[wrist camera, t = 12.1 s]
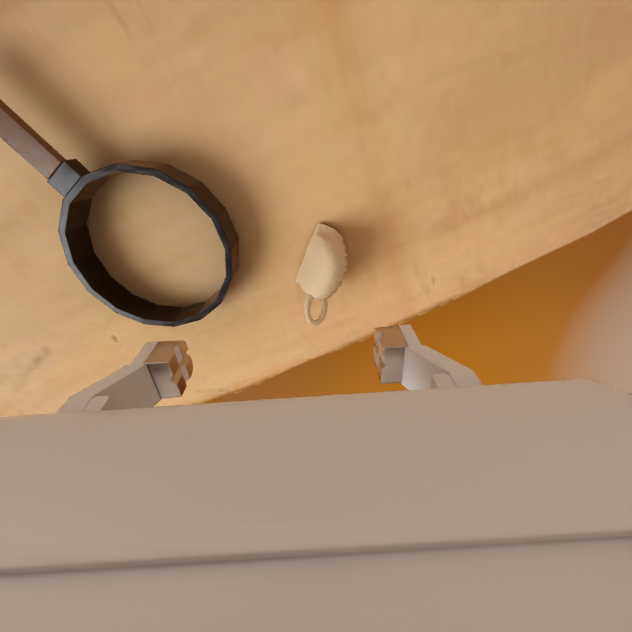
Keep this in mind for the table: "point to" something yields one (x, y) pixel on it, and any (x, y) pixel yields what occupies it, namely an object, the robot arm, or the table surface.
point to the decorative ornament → (322, 268)
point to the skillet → (75, 211)
